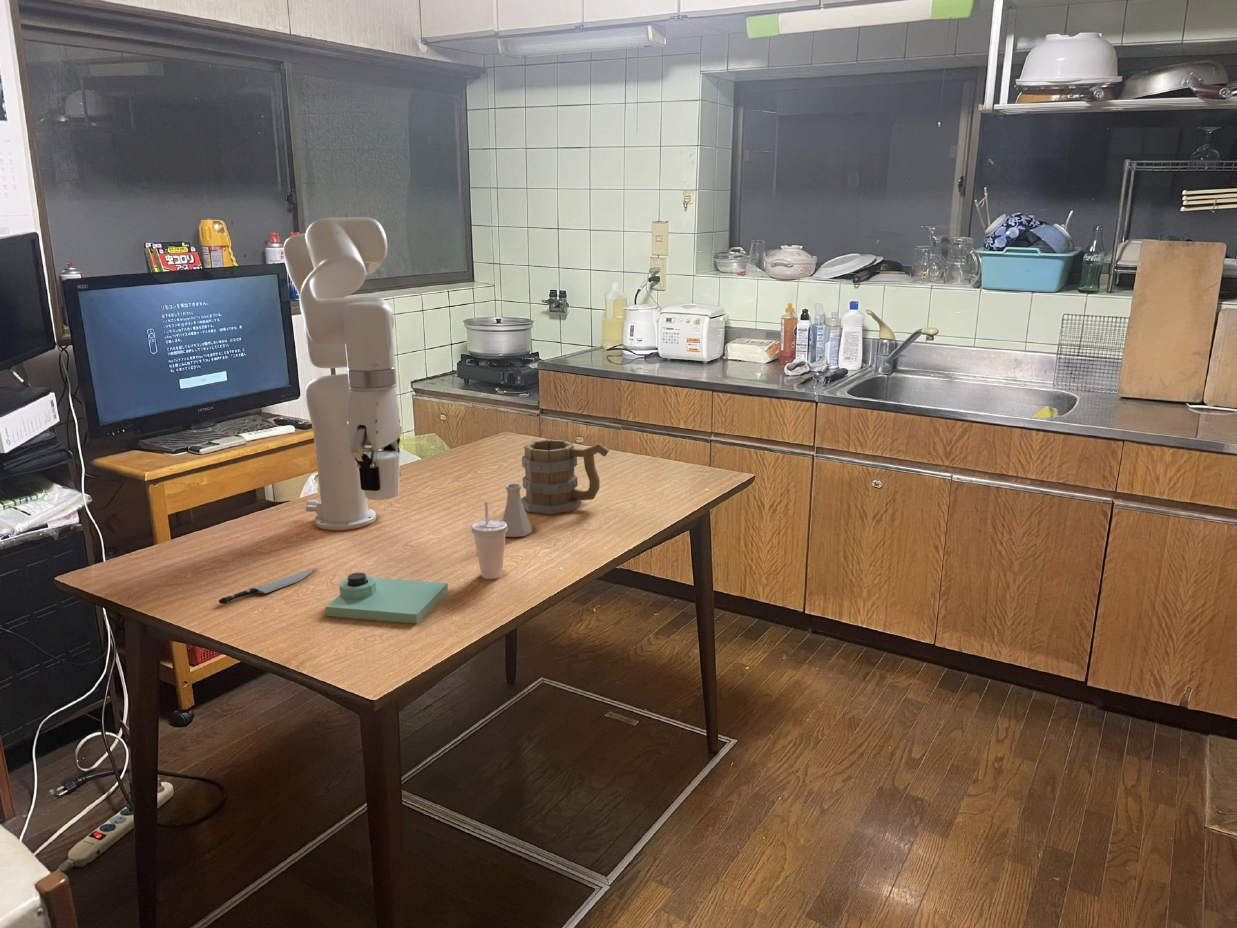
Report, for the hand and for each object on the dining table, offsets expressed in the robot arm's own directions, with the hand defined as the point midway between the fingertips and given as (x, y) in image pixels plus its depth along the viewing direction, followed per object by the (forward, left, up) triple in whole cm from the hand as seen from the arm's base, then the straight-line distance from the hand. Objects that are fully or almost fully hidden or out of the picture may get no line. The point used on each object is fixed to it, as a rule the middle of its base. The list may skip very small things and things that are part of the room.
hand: (381, 482), depth 153 cm
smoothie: (+15, +11, -20) cm, 27 cm away
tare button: (-4, -4, -17) cm, 18 cm away
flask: (+12, +34, -20) cm, 41 cm away
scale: (+2, -4, -20) cm, 21 cm away
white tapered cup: (0, 0, -2) cm, 2 cm away
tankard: (+18, +52, -20) cm, 58 cm away
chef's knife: (-21, -2, -20) cm, 29 cm away
